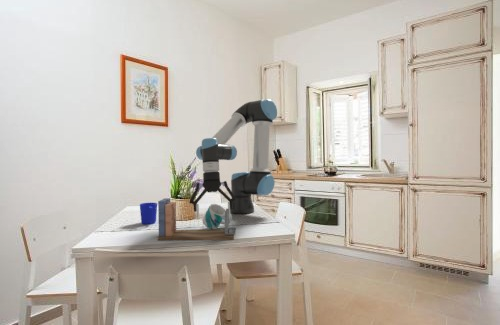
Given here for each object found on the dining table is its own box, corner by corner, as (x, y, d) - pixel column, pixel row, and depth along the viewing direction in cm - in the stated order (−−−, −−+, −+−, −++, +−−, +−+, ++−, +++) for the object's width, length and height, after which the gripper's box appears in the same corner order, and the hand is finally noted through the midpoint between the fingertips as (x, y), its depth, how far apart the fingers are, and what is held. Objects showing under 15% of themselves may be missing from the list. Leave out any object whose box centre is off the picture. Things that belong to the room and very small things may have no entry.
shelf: (166, 232, 126) (165, 197, 126) (234, 231, 126) (234, 197, 126) (157, 240, 114) (157, 201, 114) (233, 239, 114) (233, 201, 114)
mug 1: (142, 227, 136) (141, 206, 136) (139, 223, 146) (138, 203, 146) (160, 225, 139) (159, 205, 139) (155, 221, 150) (155, 202, 150)
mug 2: (201, 215, 135) (208, 202, 132) (224, 220, 141) (231, 206, 138) (204, 228, 129) (211, 213, 126) (228, 231, 134) (235, 218, 131)
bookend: (226, 229, 125) (226, 208, 125) (235, 229, 125) (235, 208, 125) (225, 234, 116) (224, 212, 116) (235, 234, 116) (234, 212, 116)
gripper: (181, 173, 129) (183, 220, 127) (238, 169, 130) (241, 216, 128) (185, 174, 136) (187, 218, 135) (239, 170, 137) (241, 215, 135)
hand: (213, 218), depth 131 cm, fingers open, 14 cm apart
